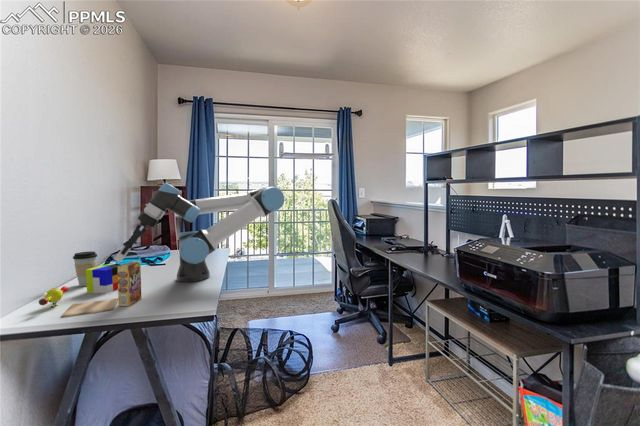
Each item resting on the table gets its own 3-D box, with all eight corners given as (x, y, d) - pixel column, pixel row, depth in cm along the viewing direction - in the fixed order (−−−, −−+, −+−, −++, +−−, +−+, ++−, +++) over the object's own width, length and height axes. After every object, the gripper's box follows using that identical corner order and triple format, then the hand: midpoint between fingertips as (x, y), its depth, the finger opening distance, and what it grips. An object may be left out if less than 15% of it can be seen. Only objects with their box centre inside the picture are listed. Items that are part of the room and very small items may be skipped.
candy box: (129, 306, 121) (127, 265, 120) (118, 306, 121) (115, 266, 120) (142, 298, 130) (140, 260, 129) (131, 299, 130) (129, 261, 129)
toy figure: (57, 299, 130) (56, 283, 130) (73, 298, 132) (72, 281, 132) (31, 315, 113) (30, 296, 113) (50, 313, 115) (49, 295, 114)
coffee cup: (73, 284, 153) (71, 253, 152) (97, 280, 159) (95, 250, 158) (75, 288, 146) (73, 255, 145) (100, 284, 152) (98, 252, 151)
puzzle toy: (106, 293, 138) (105, 270, 137) (87, 292, 140) (85, 269, 139) (125, 286, 148) (124, 265, 147) (106, 285, 150) (105, 264, 149)
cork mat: (118, 299, 129) (118, 298, 129) (112, 310, 117) (112, 308, 117) (72, 305, 123) (72, 304, 123) (61, 317, 111) (61, 315, 111)
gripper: (145, 209, 150) (115, 248, 146) (140, 211, 127) (105, 258, 123) (160, 218, 152) (131, 257, 148) (158, 222, 130) (124, 268, 126)
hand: (119, 258), depth 136 cm, fingers open, 13 cm apart
